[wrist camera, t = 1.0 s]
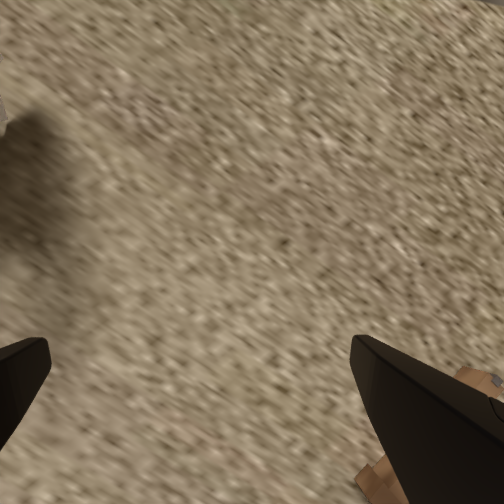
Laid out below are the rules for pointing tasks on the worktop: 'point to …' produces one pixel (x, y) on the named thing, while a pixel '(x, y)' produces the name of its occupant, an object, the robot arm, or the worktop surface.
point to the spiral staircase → (0, 110)
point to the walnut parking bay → (382, 475)
